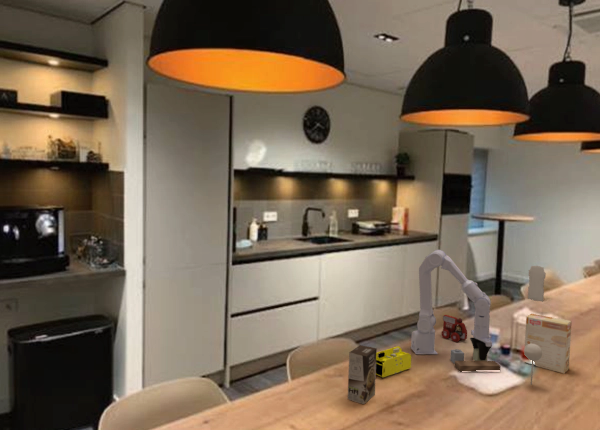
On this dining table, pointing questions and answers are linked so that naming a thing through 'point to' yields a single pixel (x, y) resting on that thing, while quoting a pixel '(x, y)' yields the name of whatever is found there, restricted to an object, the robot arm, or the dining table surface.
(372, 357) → the coffee box
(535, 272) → the dispenser
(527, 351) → the lollipop
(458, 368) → the walnut base brick
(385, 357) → the yellow toy machine
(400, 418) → the dining table surface
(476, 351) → the sage block
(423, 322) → the robot arm
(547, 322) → the coffeecake box
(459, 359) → the slate block
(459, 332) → the toy fire truck
